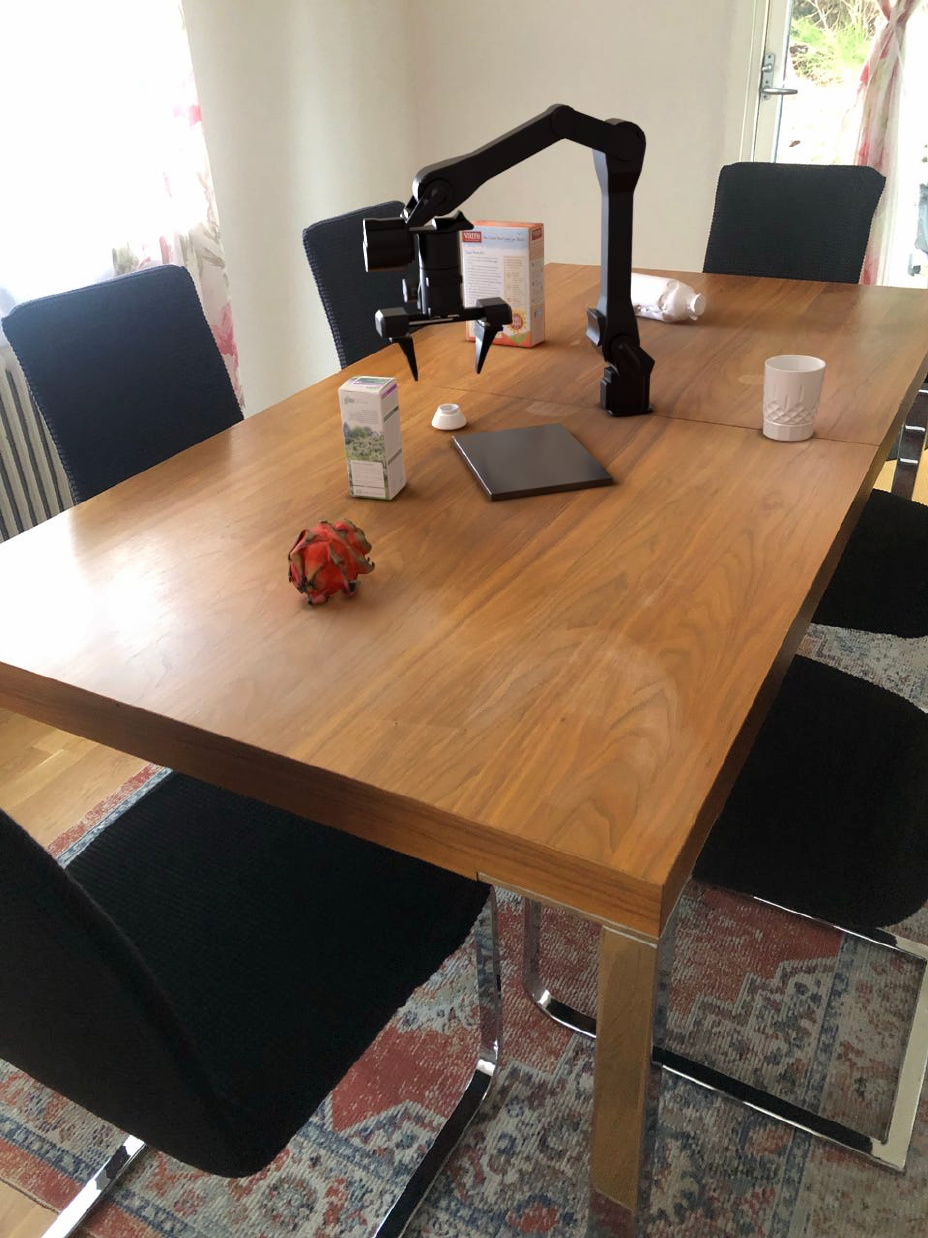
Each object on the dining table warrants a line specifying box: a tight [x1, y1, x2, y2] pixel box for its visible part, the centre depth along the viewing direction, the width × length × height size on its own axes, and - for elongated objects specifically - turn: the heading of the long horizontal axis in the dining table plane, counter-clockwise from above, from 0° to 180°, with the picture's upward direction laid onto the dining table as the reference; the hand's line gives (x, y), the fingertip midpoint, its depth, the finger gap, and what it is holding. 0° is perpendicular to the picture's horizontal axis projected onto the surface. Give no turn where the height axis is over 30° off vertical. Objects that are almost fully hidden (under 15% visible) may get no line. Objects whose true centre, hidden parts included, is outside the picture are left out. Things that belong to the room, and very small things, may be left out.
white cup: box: [762, 354, 827, 443], centre depth 142 cm, size 8×8×10 cm
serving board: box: [452, 422, 614, 502], centre depth 140 cm, size 16×22×1 cm
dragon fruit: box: [287, 518, 376, 607], centre depth 109 cm, size 8×8×12 cm
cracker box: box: [461, 219, 546, 348], centre depth 188 cm, size 14×6×21 cm, turn 58°
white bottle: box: [631, 271, 707, 324], centre depth 199 cm, size 8×19×8 cm, turn 42°
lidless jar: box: [431, 403, 467, 431], centre depth 153 cm, size 5×3×5 cm
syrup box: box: [337, 375, 407, 501], centre depth 130 cm, size 6×6×14 cm
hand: (447, 376), depth 150 cm, fingers open, 9 cm apart
